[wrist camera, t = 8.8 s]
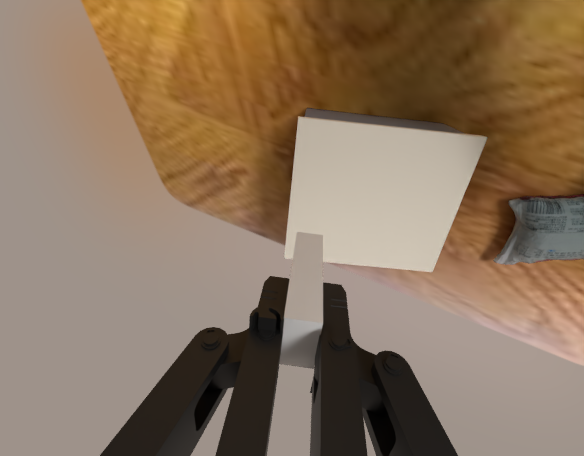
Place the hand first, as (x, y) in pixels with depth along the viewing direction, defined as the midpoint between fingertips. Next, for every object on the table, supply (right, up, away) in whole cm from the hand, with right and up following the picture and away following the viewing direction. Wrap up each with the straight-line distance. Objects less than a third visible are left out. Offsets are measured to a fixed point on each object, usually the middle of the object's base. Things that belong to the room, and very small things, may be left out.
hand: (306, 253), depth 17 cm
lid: (+6, +4, +8) cm, 11 cm away
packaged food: (+29, +2, +17) cm, 34 cm away
